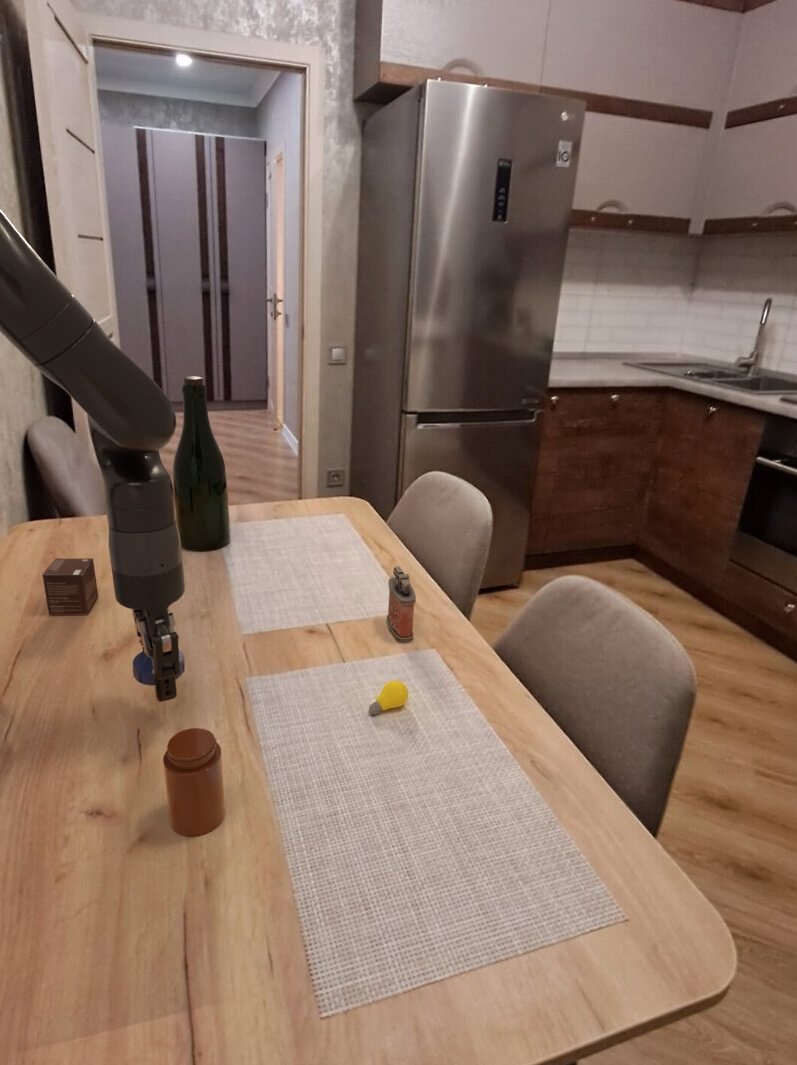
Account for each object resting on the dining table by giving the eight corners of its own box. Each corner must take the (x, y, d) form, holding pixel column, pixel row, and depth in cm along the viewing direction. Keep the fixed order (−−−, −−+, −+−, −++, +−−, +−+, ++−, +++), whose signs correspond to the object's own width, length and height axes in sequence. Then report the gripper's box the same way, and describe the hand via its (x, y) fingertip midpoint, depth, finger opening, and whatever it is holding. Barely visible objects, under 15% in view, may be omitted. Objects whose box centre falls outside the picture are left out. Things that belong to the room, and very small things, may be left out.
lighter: (417, 641, 104) (421, 584, 100) (396, 644, 103) (399, 586, 99) (402, 616, 111) (405, 562, 107) (382, 618, 110) (385, 563, 106)
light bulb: (412, 702, 89) (413, 688, 87) (377, 728, 87) (377, 714, 84) (396, 684, 91) (397, 670, 89) (362, 709, 89) (361, 696, 86)
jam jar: (169, 841, 67) (160, 766, 63) (170, 800, 72) (162, 728, 68) (226, 830, 68) (221, 757, 65) (223, 791, 73) (219, 721, 70)
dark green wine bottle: (168, 539, 135) (153, 374, 123) (215, 528, 142) (205, 370, 129) (192, 556, 128) (179, 383, 116) (240, 544, 135) (233, 379, 122)
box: (61, 597, 111) (55, 557, 108) (99, 597, 112) (94, 557, 109) (48, 616, 105) (40, 574, 103) (87, 615, 106) (81, 574, 103)
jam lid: (193, 662, 82) (192, 650, 82) (167, 689, 77) (166, 676, 77) (152, 655, 84) (151, 642, 83) (124, 680, 79) (122, 667, 78)
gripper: (198, 578, 71) (208, 708, 77) (166, 531, 82) (177, 648, 89) (123, 592, 67) (140, 727, 74) (100, 541, 79) (117, 662, 85)
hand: (160, 683), depth 81 cm, fingers closed on jam lid, 5 cm apart
